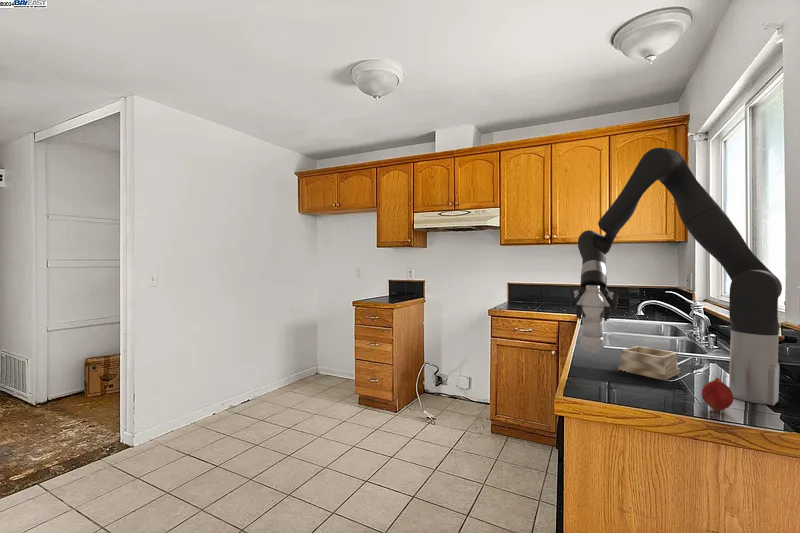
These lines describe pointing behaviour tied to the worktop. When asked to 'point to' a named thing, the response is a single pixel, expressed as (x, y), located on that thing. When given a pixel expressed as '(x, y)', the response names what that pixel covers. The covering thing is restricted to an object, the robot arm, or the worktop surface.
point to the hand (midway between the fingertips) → (592, 318)
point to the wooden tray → (649, 362)
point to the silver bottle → (592, 320)
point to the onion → (717, 395)
